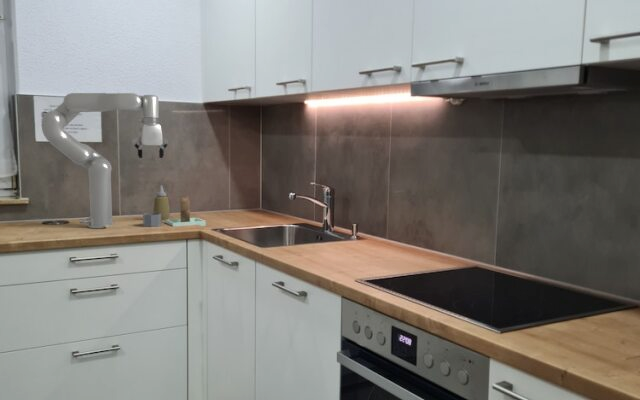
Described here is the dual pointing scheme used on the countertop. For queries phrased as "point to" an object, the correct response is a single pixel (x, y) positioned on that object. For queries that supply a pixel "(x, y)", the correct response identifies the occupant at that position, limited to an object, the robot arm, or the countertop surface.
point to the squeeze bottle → (161, 204)
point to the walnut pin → (185, 208)
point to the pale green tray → (192, 222)
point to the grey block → (152, 220)
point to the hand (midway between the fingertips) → (150, 157)
